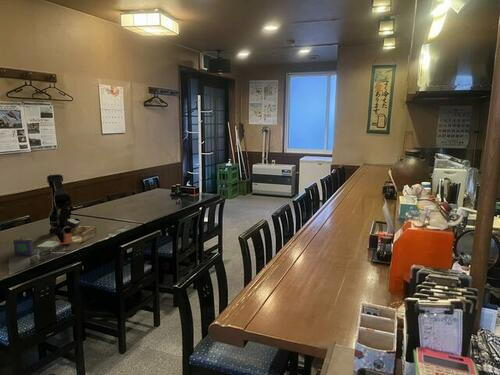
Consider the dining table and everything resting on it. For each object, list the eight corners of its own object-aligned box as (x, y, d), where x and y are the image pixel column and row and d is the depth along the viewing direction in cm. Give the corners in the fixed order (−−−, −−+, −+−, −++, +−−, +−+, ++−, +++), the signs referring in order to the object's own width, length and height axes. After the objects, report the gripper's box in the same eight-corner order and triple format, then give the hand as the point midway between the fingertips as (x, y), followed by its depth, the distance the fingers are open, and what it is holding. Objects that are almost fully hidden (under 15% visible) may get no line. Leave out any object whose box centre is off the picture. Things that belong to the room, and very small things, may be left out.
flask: (34, 254, 192) (32, 235, 190) (31, 256, 189) (29, 236, 188) (16, 254, 191) (14, 235, 190) (13, 256, 189) (11, 237, 187)
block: (58, 243, 203) (57, 235, 202) (63, 241, 208) (63, 232, 207) (66, 244, 203) (66, 235, 202) (71, 241, 208) (71, 233, 207)
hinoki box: (57, 242, 212) (57, 232, 211) (72, 235, 226) (71, 226, 225) (83, 243, 211) (83, 233, 210) (96, 235, 225) (95, 226, 224)
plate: (36, 248, 202) (36, 246, 202) (47, 242, 212) (47, 240, 212) (53, 248, 201) (53, 247, 201) (63, 243, 211) (63, 241, 211)
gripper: (67, 219, 193) (69, 246, 195) (85, 211, 211) (87, 236, 214) (47, 218, 194) (49, 246, 196) (67, 211, 212) (69, 236, 215)
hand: (65, 241), depth 205 cm, fingers closed on block, 5 cm apart
